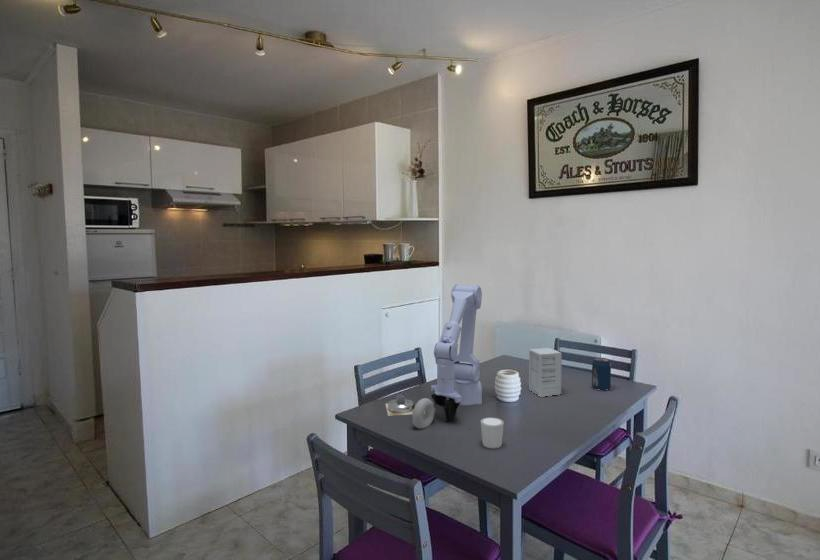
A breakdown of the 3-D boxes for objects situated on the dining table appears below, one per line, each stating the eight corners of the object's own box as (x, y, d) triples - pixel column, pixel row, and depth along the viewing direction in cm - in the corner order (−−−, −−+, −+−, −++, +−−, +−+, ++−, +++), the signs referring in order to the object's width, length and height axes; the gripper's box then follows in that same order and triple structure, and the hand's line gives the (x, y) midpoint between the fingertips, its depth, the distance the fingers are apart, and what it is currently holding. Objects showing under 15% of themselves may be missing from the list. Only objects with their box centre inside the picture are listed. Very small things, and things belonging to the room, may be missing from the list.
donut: (419, 435, 148) (418, 404, 147) (410, 432, 151) (409, 402, 150) (437, 425, 156) (436, 395, 155) (428, 422, 158) (428, 393, 157)
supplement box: (561, 395, 183) (562, 352, 181) (540, 397, 181) (540, 354, 179) (548, 387, 192) (549, 347, 191) (528, 390, 190) (528, 348, 188)
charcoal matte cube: (447, 417, 163) (447, 400, 162) (456, 422, 158) (456, 404, 158) (435, 420, 160) (435, 403, 159) (444, 425, 156) (444, 407, 155)
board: (444, 403, 176) (444, 400, 176) (451, 415, 164) (451, 411, 164) (385, 406, 174) (385, 403, 173) (388, 419, 162) (388, 415, 162)
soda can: (611, 387, 192) (612, 358, 190) (608, 392, 186) (609, 362, 185) (593, 384, 195) (594, 356, 194) (589, 389, 190) (590, 360, 188)
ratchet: (444, 401, 175) (444, 389, 174) (449, 410, 166) (449, 397, 165) (387, 404, 172) (386, 392, 172) (389, 414, 163) (388, 401, 163)
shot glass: (478, 439, 145) (478, 417, 144) (500, 438, 145) (500, 416, 145) (483, 449, 138) (483, 426, 137) (506, 448, 139) (506, 425, 138)
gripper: (423, 374, 162) (423, 413, 163) (449, 385, 149) (449, 427, 151) (440, 371, 165) (440, 408, 167) (466, 381, 153) (466, 422, 155)
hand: (446, 417), depth 159 cm, fingers closed on charcoal matte cube, 5 cm apart
